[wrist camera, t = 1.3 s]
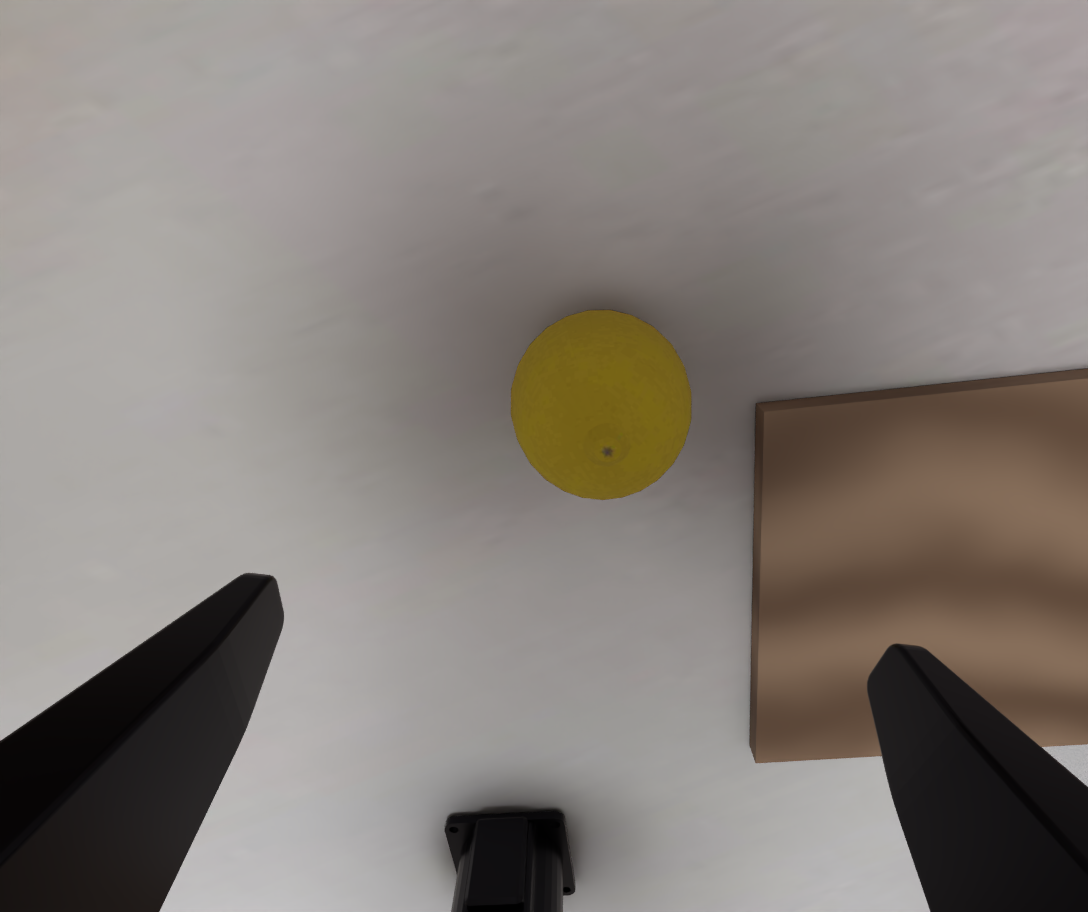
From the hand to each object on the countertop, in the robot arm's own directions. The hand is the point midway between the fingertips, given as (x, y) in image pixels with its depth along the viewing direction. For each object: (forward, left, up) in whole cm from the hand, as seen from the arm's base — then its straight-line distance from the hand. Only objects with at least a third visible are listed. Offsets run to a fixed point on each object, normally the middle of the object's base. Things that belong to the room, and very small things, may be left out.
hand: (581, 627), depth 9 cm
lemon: (0, -1, -15) cm, 15 cm away
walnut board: (-11, -16, -15) cm, 24 cm away
